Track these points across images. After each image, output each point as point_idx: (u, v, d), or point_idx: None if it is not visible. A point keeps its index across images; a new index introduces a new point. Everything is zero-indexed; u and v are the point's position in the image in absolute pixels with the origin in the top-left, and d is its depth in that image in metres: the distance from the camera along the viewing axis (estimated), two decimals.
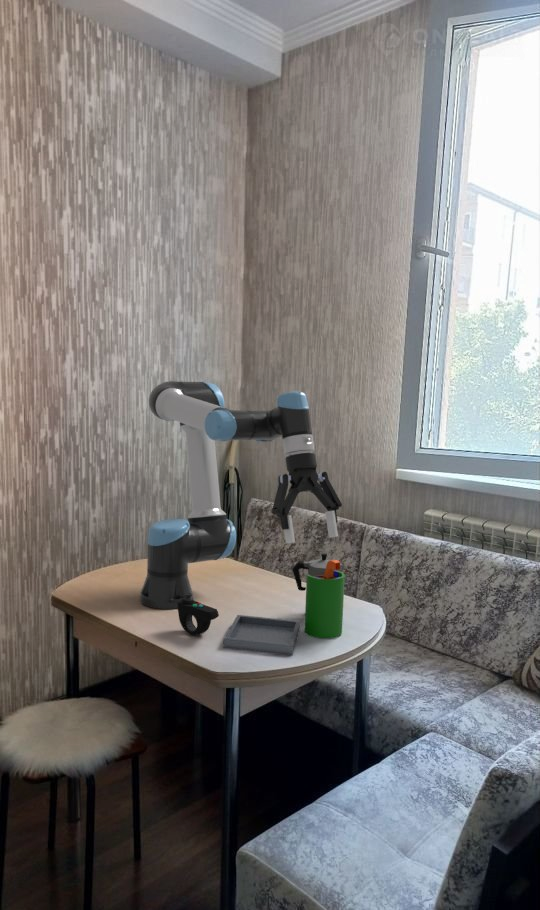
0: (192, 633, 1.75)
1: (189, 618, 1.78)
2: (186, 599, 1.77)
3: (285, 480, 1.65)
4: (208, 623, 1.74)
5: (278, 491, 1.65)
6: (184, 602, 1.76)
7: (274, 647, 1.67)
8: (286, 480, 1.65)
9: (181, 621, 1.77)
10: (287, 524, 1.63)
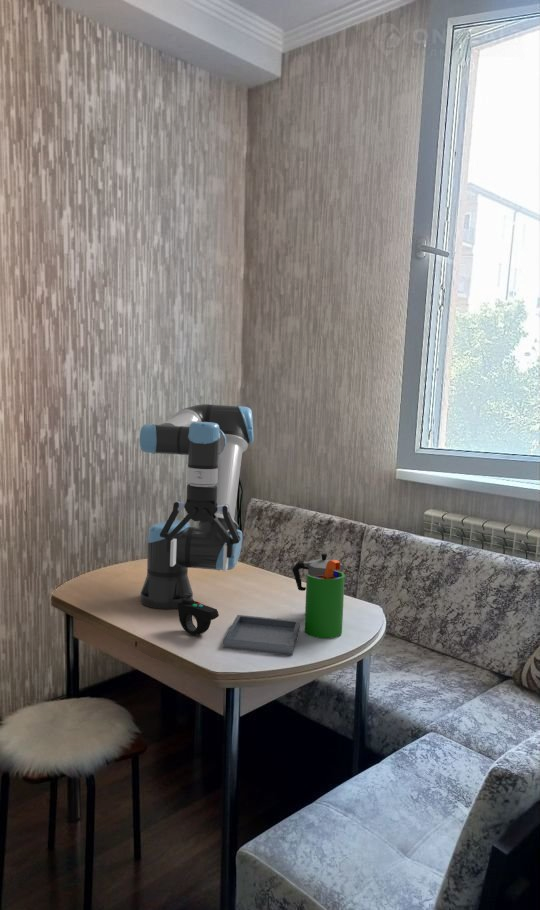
0: (192, 633, 1.75)
1: (189, 618, 1.78)
2: (186, 599, 1.77)
3: (174, 508, 1.72)
4: (208, 623, 1.74)
5: None
6: (184, 602, 1.76)
7: (274, 647, 1.67)
8: (175, 508, 1.72)
9: (181, 621, 1.77)
10: (170, 548, 1.74)
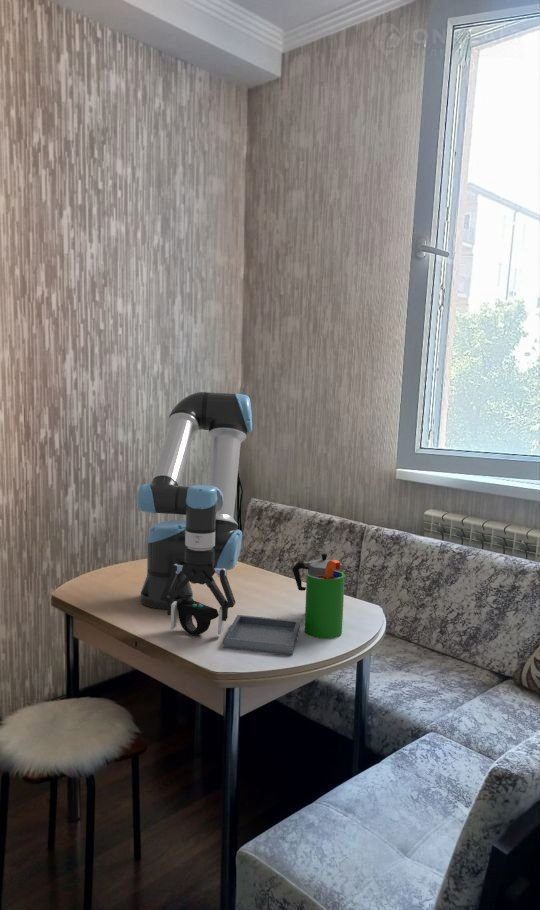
0: (192, 633, 1.75)
1: (189, 618, 1.78)
2: (186, 599, 1.77)
3: (172, 571, 1.74)
4: (208, 623, 1.74)
5: None
6: (184, 602, 1.76)
7: (274, 647, 1.67)
8: (173, 571, 1.74)
9: (181, 621, 1.77)
10: (170, 611, 1.76)
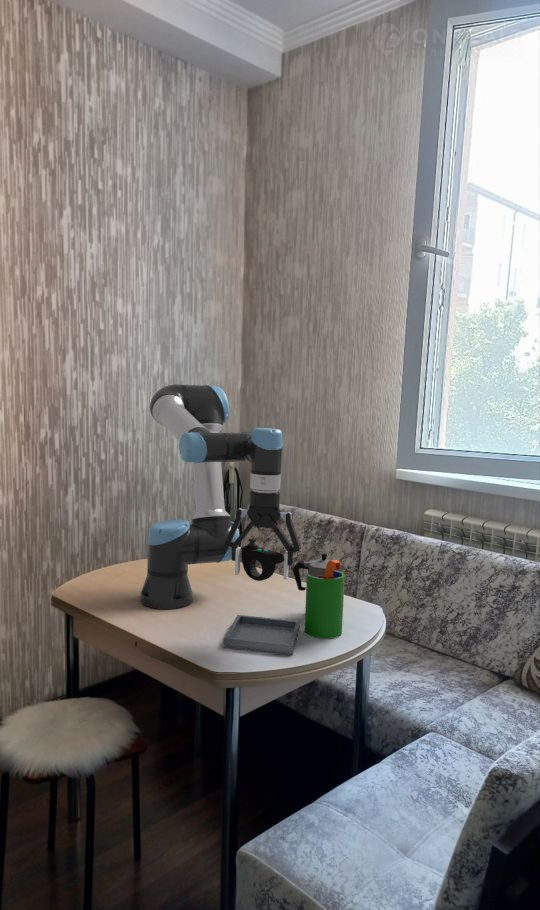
0: (257, 578, 1.72)
1: (253, 564, 1.75)
2: (250, 544, 1.74)
3: (237, 515, 1.72)
4: (273, 568, 1.71)
5: None
6: (248, 547, 1.74)
7: (274, 647, 1.67)
8: (238, 515, 1.72)
9: (245, 567, 1.74)
10: (235, 556, 1.73)
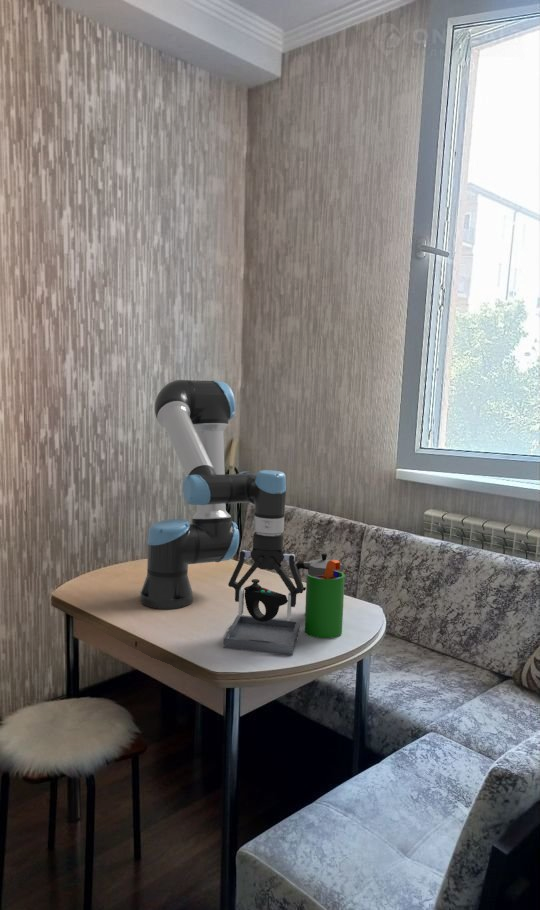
0: (260, 619, 1.74)
1: (256, 604, 1.77)
2: (253, 585, 1.75)
3: (240, 557, 1.73)
4: (277, 609, 1.73)
5: None
6: (252, 588, 1.75)
7: (274, 647, 1.67)
8: (242, 557, 1.73)
9: (248, 607, 1.76)
10: (238, 597, 1.75)
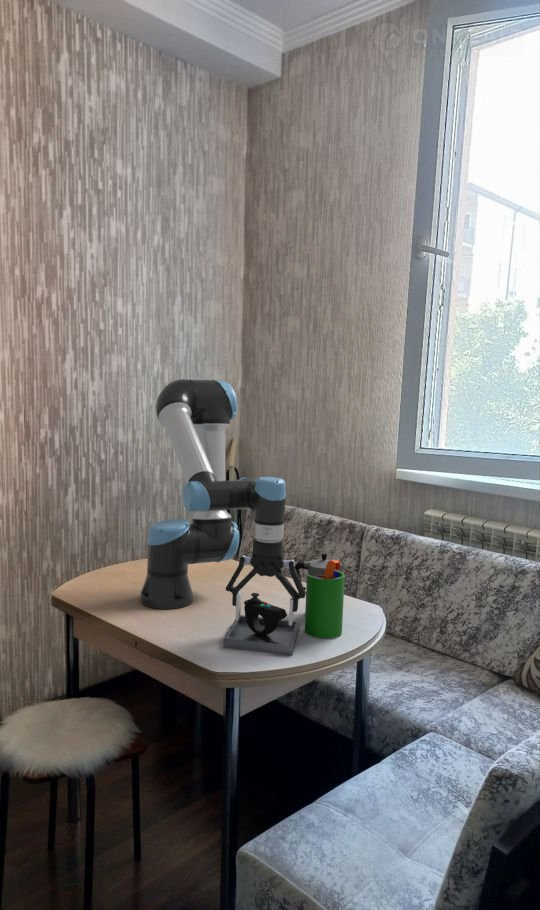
0: (260, 633, 1.74)
1: (256, 618, 1.77)
2: (253, 599, 1.76)
3: (240, 563, 1.73)
4: (276, 623, 1.73)
5: None
6: (251, 602, 1.76)
7: (274, 647, 1.67)
8: (241, 563, 1.73)
9: (248, 621, 1.77)
10: (235, 602, 1.75)
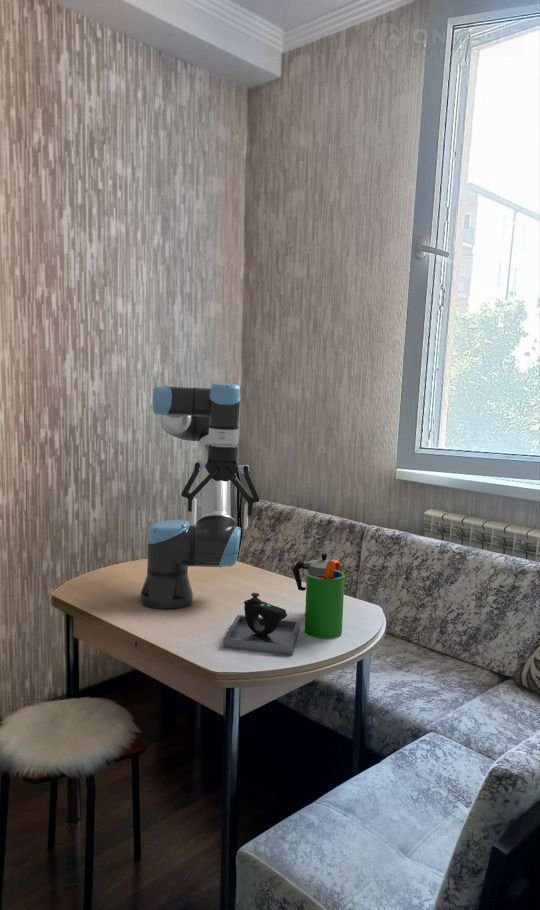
0: (260, 633, 1.74)
1: (256, 618, 1.77)
2: (253, 599, 1.76)
3: (195, 468, 1.75)
4: (276, 623, 1.73)
5: None
6: (251, 602, 1.76)
7: (274, 647, 1.67)
8: (196, 468, 1.75)
9: (248, 621, 1.77)
10: (191, 507, 1.78)
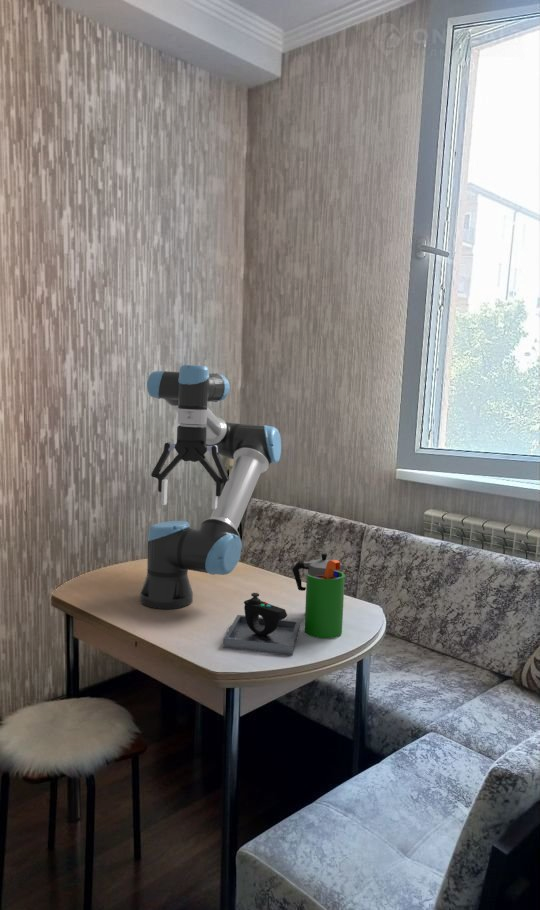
0: (260, 633, 1.74)
1: (256, 618, 1.77)
2: (253, 599, 1.76)
3: (165, 448, 1.78)
4: (276, 623, 1.73)
5: None
6: (251, 602, 1.76)
7: (274, 647, 1.67)
8: (166, 448, 1.78)
9: (248, 621, 1.77)
10: (161, 487, 1.80)
